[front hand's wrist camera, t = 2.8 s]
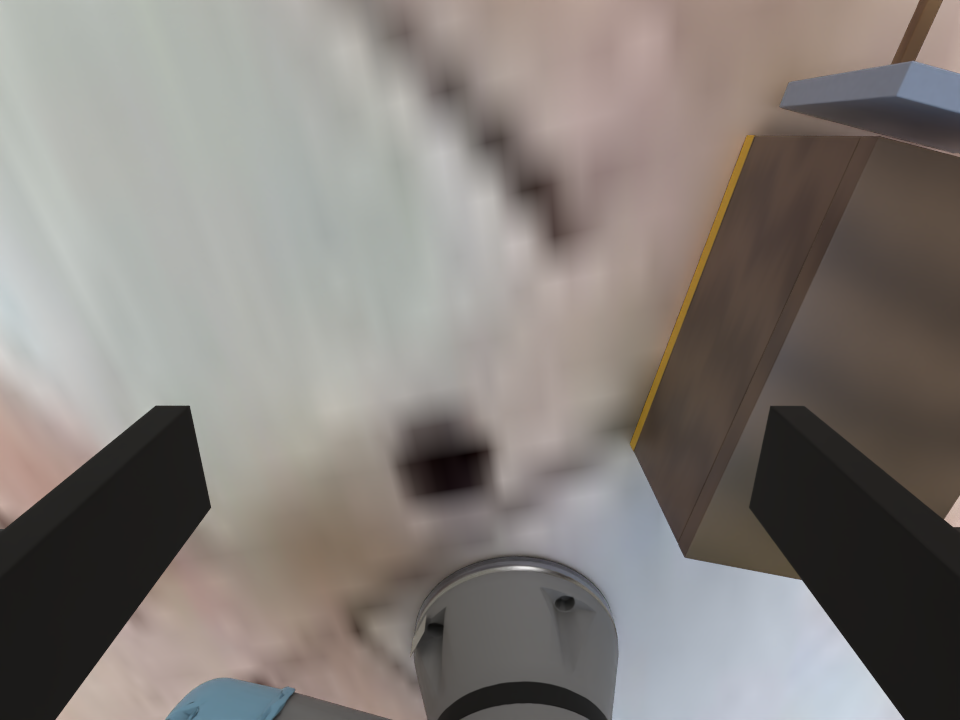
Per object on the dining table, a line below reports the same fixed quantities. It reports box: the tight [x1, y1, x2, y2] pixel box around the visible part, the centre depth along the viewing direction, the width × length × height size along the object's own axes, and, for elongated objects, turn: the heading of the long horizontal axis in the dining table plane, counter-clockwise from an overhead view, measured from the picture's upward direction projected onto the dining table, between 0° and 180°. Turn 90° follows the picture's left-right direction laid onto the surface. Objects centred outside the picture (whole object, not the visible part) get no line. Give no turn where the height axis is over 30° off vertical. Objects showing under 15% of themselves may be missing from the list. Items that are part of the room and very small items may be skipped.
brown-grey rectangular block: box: [630, 135, 960, 580], centre depth 29 cm, size 19×11×11 cm, turn 167°
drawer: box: [779, 0, 960, 153], centre depth 27 cm, size 23×10×9 cm, turn 167°
